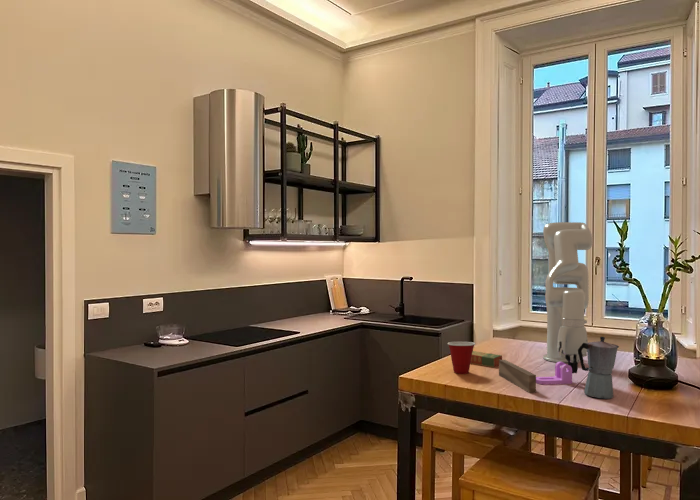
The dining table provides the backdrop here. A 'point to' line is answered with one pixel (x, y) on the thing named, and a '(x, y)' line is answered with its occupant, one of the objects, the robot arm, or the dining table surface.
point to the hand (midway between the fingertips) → (572, 372)
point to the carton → (485, 359)
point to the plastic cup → (461, 356)
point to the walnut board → (517, 376)
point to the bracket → (558, 375)
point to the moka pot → (599, 368)
